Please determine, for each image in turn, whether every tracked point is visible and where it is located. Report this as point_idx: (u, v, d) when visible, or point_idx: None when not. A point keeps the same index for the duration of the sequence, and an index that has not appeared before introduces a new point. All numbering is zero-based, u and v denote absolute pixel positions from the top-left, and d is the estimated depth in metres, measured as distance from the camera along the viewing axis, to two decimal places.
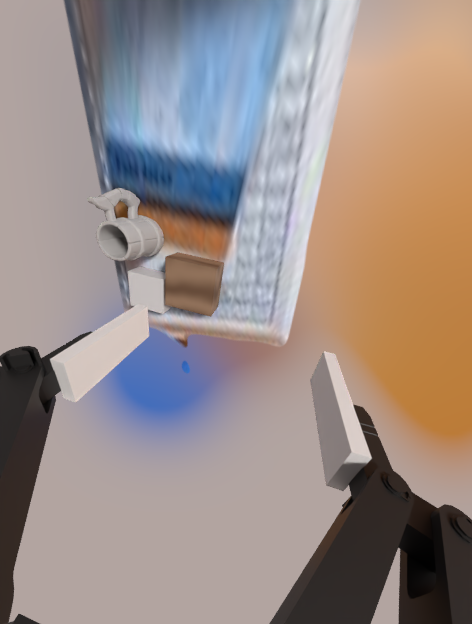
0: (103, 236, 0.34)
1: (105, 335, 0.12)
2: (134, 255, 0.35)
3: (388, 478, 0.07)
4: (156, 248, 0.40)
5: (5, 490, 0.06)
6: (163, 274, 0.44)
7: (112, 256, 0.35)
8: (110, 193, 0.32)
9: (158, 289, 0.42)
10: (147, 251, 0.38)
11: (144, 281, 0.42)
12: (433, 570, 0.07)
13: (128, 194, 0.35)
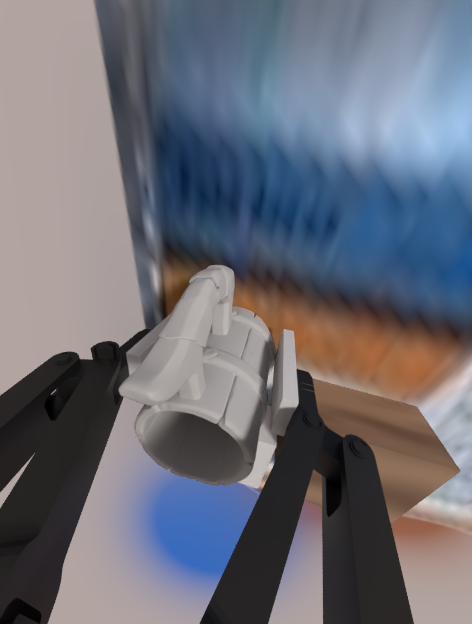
0: None
1: None
2: None
3: (307, 416, 0.09)
4: None
5: (71, 480, 0.06)
6: None
7: (179, 466, 0.12)
8: (196, 308, 0.08)
9: (257, 456, 0.19)
10: None
11: None
12: None
13: (225, 278, 0.12)
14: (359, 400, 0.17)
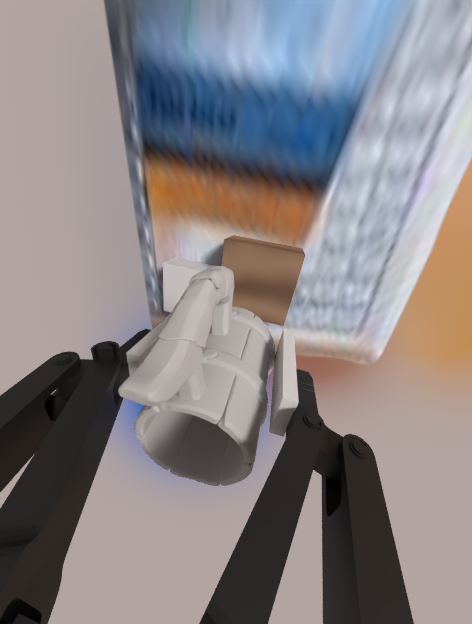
0: (153, 413, 0.11)
1: None
2: None
3: (307, 416, 0.09)
4: None
5: (71, 480, 0.06)
6: None
7: (178, 466, 0.12)
8: (195, 309, 0.08)
9: None
10: None
11: (186, 276, 0.30)
12: None
13: (225, 279, 0.12)
14: (264, 242, 0.28)
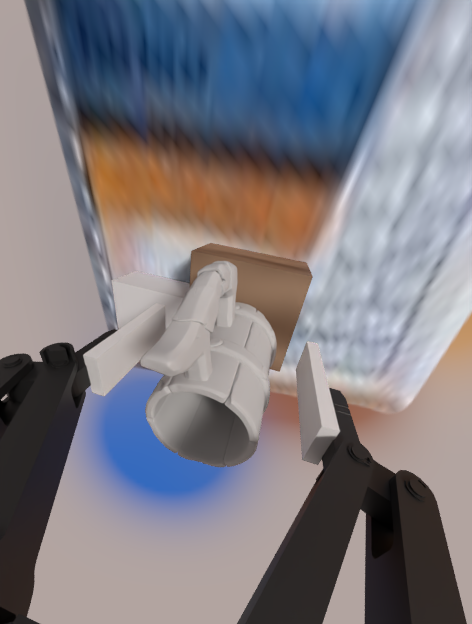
0: (162, 398, 0.12)
1: (130, 333, 0.12)
2: None
3: (352, 448, 0.08)
4: None
5: (34, 483, 0.06)
6: (181, 286, 0.23)
7: (186, 449, 0.12)
8: (204, 296, 0.09)
9: (171, 315, 0.21)
10: None
11: (145, 300, 0.21)
12: (393, 529, 0.08)
13: (230, 272, 0.12)
14: (253, 254, 0.20)
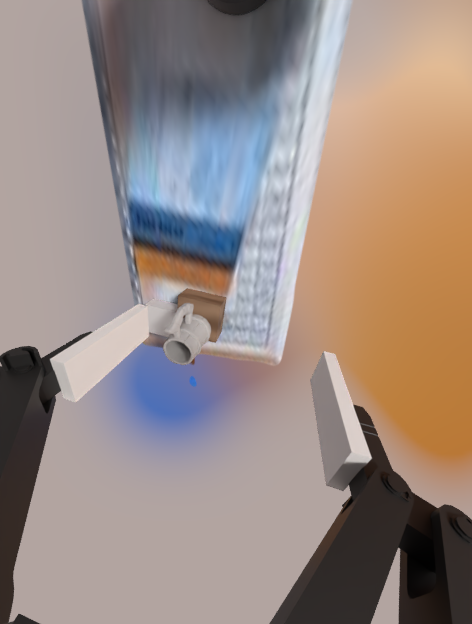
0: (168, 345, 0.41)
1: (105, 335, 0.12)
2: None
3: (388, 478, 0.07)
4: (205, 341, 0.46)
5: (5, 490, 0.06)
6: (175, 306, 0.51)
7: (175, 360, 0.41)
8: (178, 316, 0.38)
9: (170, 319, 0.50)
10: None
11: (159, 312, 0.50)
12: (433, 570, 0.07)
13: (188, 307, 0.41)
14: (204, 294, 0.48)
